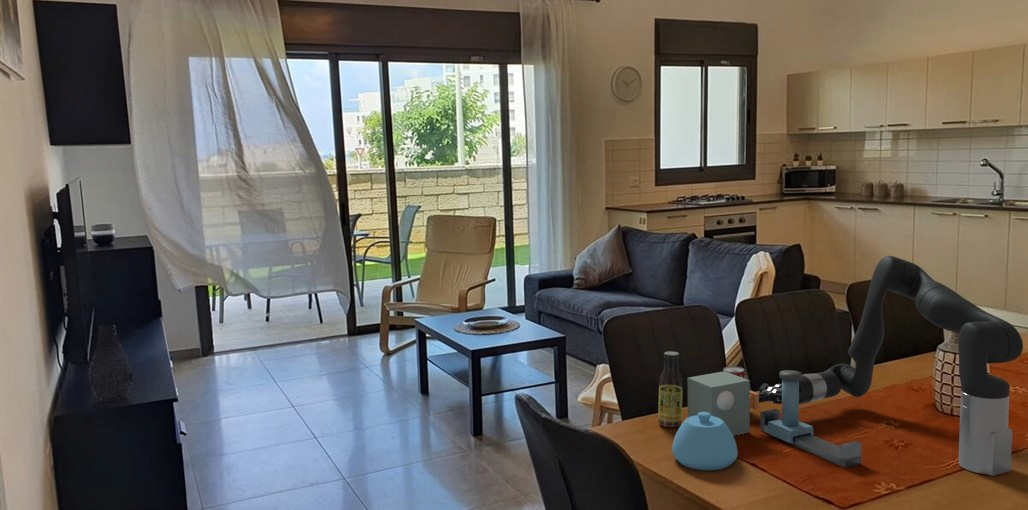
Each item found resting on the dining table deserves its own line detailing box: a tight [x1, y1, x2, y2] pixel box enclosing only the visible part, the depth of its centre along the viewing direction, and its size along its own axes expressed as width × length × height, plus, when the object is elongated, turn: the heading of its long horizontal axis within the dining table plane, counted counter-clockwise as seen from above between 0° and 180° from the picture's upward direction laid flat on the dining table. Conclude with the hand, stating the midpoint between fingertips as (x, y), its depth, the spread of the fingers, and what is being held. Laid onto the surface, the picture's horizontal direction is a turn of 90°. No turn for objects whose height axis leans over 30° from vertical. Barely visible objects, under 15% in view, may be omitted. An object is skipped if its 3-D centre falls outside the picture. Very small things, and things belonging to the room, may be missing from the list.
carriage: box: [767, 369, 814, 444], centre depth 196 cm, size 8×7×16 cm
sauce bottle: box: [657, 351, 684, 429], centre depth 209 cm, size 7×6×20 cm
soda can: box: [723, 365, 748, 380], centre depth 219 cm, size 7×7×12 cm
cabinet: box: [686, 370, 751, 437], centre depth 203 cm, size 11×12×14 cm
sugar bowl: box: [671, 412, 738, 471], centre depth 185 cm, size 15×15×12 cm
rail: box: [759, 408, 862, 469], centre depth 191 cm, size 28×5×5 cm, turn 23°
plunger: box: [750, 389, 760, 410], centre depth 202 cm, size 4×8×4 cm, turn 113°
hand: (753, 398), depth 204 cm, fingers closed
